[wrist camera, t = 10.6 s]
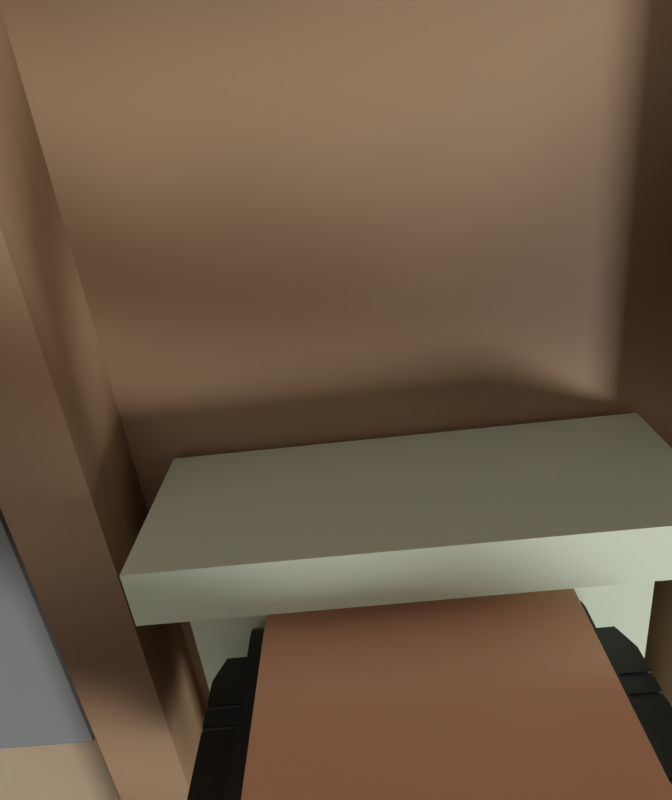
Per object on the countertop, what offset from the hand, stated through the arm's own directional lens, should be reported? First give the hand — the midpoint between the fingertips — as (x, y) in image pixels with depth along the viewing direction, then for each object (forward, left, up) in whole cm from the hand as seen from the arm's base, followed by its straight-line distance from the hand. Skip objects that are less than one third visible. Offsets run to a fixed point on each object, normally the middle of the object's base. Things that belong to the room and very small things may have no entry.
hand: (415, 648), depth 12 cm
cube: (0, 0, 0) cm, 0 cm away
